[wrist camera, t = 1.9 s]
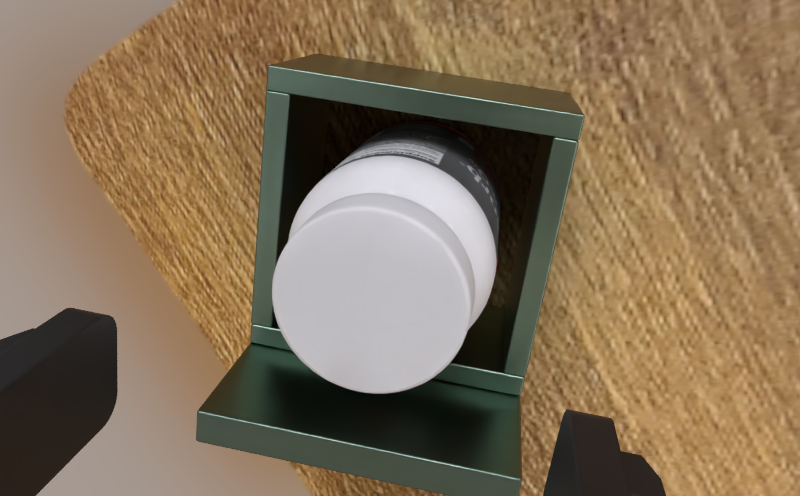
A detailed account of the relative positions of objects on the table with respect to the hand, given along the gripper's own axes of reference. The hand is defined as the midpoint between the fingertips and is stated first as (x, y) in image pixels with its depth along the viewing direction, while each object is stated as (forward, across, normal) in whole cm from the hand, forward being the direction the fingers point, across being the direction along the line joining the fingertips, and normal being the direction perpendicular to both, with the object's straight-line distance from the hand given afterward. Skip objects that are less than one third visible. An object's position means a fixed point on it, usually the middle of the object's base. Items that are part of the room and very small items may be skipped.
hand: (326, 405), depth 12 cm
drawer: (+14, 0, 0) cm, 14 cm away
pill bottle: (+14, 0, 0) cm, 14 cm away
